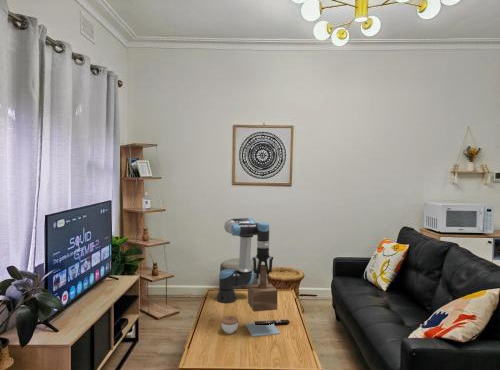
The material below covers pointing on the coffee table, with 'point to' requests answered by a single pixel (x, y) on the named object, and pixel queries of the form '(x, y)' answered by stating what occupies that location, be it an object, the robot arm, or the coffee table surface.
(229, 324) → the lidded jar
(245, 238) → the robot arm
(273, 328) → the mat
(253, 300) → the cover
